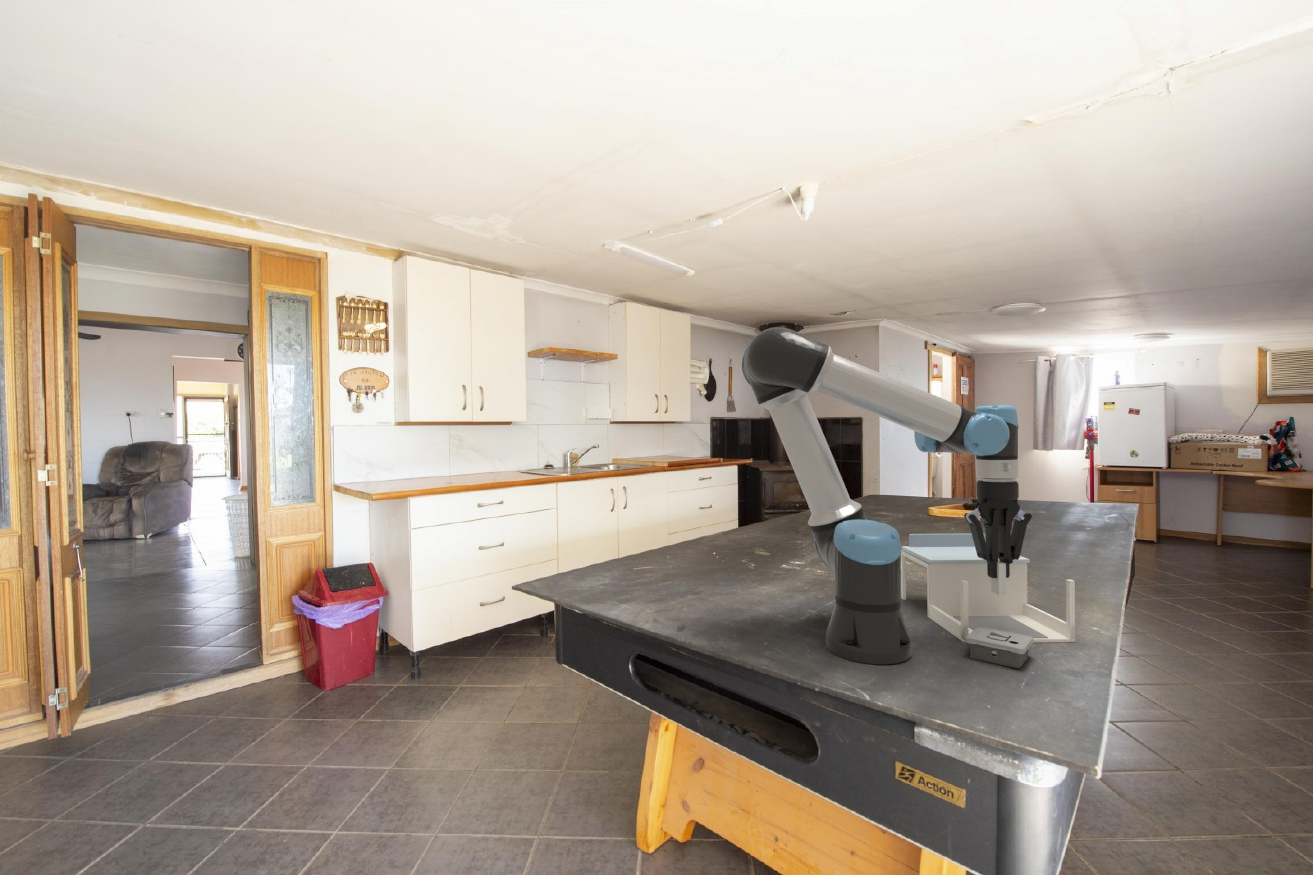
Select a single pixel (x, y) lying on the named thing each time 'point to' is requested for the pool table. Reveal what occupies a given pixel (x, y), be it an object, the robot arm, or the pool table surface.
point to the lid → (947, 549)
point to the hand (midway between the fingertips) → (998, 593)
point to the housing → (989, 602)
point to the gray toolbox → (999, 646)
